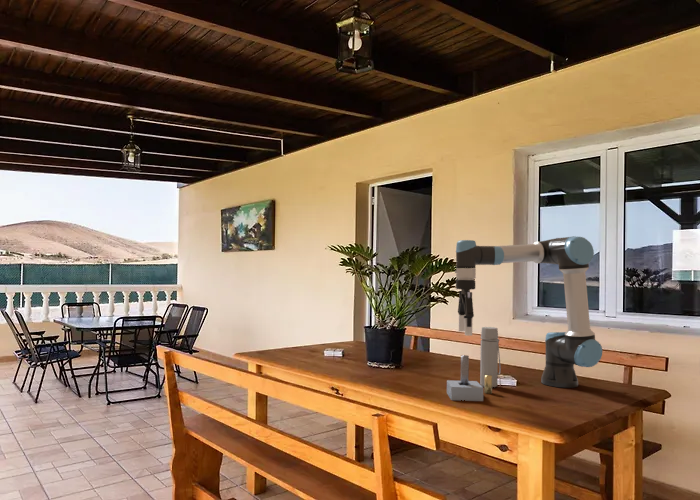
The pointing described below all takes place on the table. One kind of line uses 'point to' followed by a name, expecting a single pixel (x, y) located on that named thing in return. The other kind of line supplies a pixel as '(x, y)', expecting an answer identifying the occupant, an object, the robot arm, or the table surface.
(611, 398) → the table surface
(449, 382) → the socket block
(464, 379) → the long pin
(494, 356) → the water bottle
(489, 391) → the short pin
